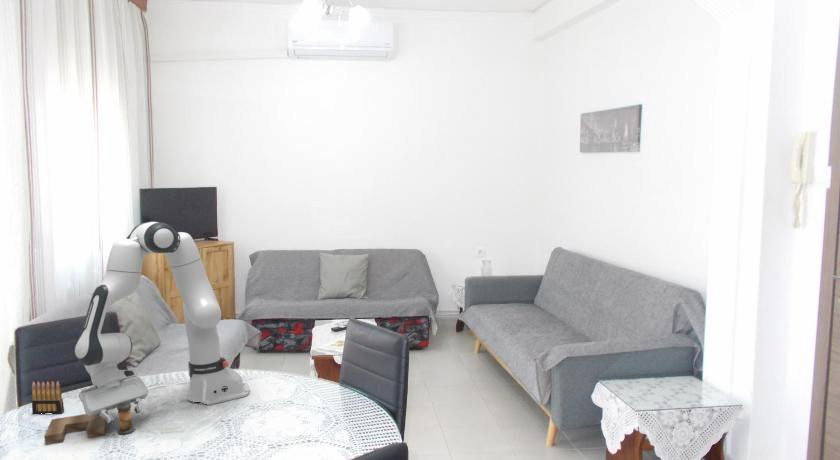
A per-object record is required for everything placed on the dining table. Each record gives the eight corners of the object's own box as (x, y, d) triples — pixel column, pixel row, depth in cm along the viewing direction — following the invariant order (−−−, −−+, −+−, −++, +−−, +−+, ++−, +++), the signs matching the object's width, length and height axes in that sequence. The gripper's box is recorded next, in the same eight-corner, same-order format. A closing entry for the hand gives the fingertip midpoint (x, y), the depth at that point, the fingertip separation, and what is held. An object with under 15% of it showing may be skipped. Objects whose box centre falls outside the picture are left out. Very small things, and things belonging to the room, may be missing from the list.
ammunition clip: (32, 414, 225) (29, 382, 224) (35, 412, 227) (32, 380, 225) (61, 414, 225) (58, 382, 223) (64, 412, 226) (61, 380, 225)
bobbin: (135, 427, 212) (132, 401, 211) (134, 433, 207) (132, 407, 206) (118, 429, 210) (115, 404, 209) (116, 436, 206) (114, 409, 204)
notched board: (108, 418, 219) (107, 410, 219) (104, 435, 206) (103, 426, 206) (52, 427, 213) (51, 419, 213) (45, 444, 200) (44, 436, 200)
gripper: (79, 386, 203) (95, 422, 198) (140, 368, 219) (156, 402, 214) (74, 396, 206) (90, 432, 202) (134, 378, 222) (151, 411, 217)
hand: (125, 416), depth 208 cm, fingers open, 8 cm apart
